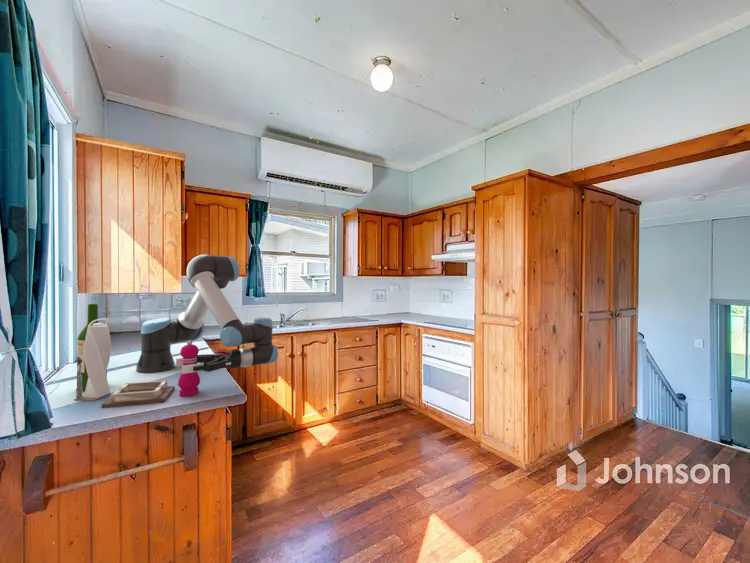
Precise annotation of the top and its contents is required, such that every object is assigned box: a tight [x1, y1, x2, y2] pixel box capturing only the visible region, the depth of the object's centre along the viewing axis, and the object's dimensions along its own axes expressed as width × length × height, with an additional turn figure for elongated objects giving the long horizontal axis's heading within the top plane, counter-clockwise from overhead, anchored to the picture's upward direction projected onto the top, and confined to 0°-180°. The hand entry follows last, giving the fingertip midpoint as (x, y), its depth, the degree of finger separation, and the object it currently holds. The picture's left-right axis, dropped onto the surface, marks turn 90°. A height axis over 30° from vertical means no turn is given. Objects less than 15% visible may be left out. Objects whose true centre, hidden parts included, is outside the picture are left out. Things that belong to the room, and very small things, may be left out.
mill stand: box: [101, 379, 176, 408], centre depth 121 cm, size 15×18×4 cm
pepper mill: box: [177, 340, 201, 398], centre depth 125 cm, size 7×7×20 cm
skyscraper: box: [74, 317, 112, 402], centre depth 121 cm, size 8×8×28 cm
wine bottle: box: [76, 303, 108, 392], centre depth 131 cm, size 9×9×32 cm
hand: (178, 365), depth 123 cm, fingers open, 12 cm apart
